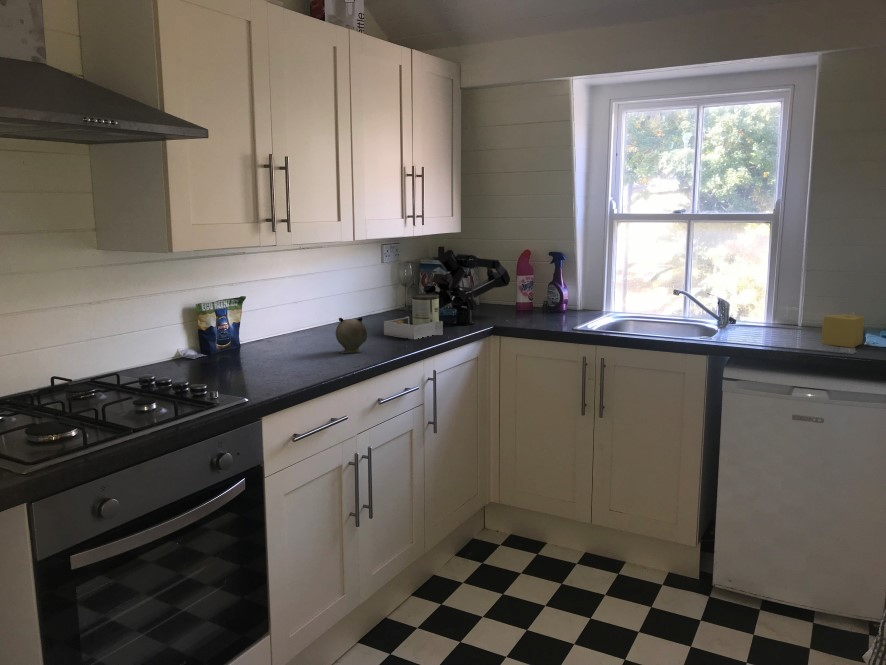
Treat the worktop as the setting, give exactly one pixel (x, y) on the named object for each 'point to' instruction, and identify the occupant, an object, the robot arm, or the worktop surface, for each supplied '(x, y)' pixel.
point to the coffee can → (425, 308)
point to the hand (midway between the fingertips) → (434, 310)
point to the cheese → (842, 330)
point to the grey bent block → (412, 328)
